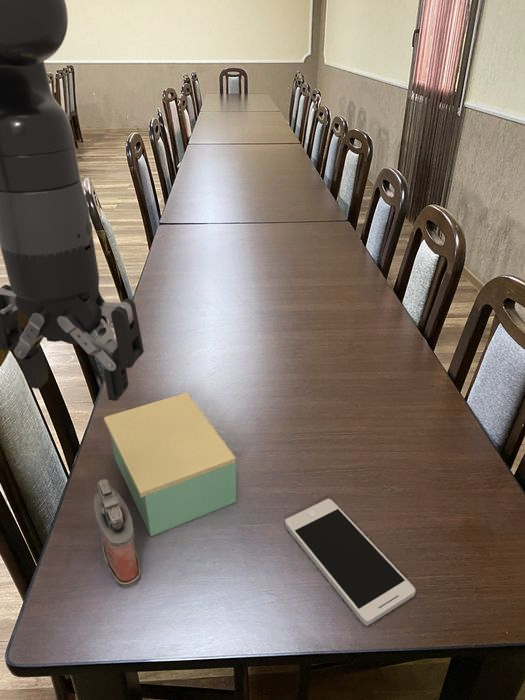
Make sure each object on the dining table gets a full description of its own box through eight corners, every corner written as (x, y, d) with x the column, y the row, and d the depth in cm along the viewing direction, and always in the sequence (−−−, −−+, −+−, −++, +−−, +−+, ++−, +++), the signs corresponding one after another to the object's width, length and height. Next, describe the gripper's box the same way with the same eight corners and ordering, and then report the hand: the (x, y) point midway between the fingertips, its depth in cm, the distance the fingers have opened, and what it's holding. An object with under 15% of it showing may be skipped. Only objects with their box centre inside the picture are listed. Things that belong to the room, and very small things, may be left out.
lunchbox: (150, 537, 65) (144, 496, 61) (114, 458, 76) (107, 420, 73) (236, 502, 70) (236, 463, 66) (190, 433, 81) (187, 396, 78)
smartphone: (329, 502, 70) (329, 497, 69) (416, 595, 58) (417, 589, 58) (283, 524, 66) (283, 519, 66) (365, 627, 55) (366, 622, 55)
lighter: (147, 580, 60) (137, 517, 54) (116, 593, 58) (103, 530, 53) (125, 529, 66) (114, 468, 60) (97, 540, 64) (84, 478, 59)
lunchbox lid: (140, 498, 61) (139, 492, 61) (104, 421, 73) (103, 417, 72) (236, 462, 66) (235, 457, 66) (187, 396, 78) (187, 392, 77)
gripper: (-57, 243, 44) (-8, 402, 52) (102, 258, 41) (127, 423, 50) (0, 216, 50) (36, 362, 59) (142, 228, 48) (158, 379, 56)
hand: (78, 390), depth 54 cm, fingers open, 8 cm apart
